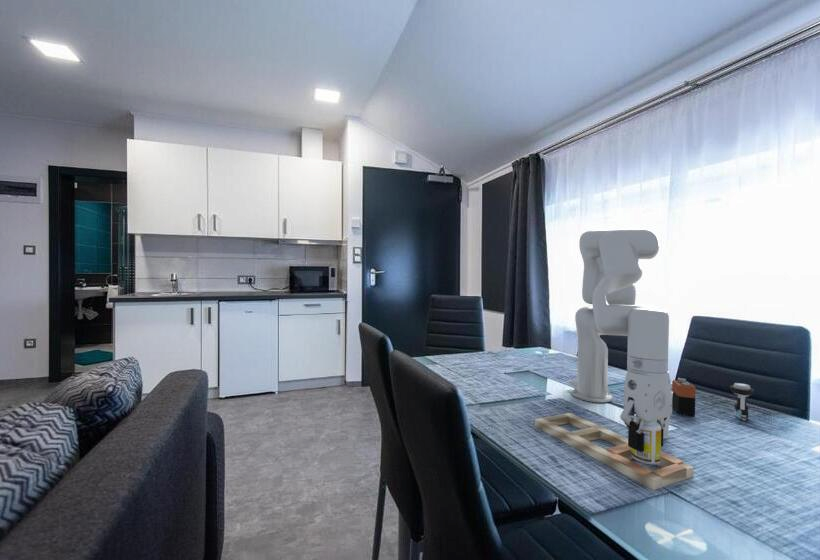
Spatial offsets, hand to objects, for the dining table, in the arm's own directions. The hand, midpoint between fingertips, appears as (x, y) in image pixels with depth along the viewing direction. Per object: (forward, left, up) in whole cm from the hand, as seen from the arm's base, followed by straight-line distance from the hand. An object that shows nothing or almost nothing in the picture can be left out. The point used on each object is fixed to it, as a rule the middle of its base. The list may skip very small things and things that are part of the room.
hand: (645, 445), depth 80 cm
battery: (-18, +45, -5) cm, 49 cm away
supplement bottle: (0, 0, -3) cm, 3 cm away
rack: (-10, 0, -5) cm, 12 cm away
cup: (-11, +20, -5) cm, 23 cm away
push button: (-8, +56, -5) cm, 57 cm away
